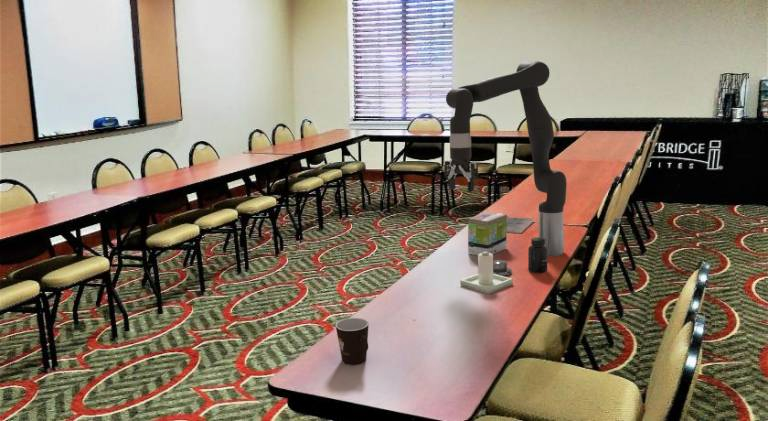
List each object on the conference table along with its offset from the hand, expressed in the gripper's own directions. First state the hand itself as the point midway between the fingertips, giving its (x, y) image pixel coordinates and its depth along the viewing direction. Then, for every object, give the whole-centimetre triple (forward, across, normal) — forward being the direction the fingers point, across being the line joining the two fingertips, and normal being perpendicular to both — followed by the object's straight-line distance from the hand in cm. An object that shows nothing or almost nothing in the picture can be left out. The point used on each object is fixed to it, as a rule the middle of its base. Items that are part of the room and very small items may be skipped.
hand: (461, 190), depth 234 cm
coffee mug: (+30, -30, +76) cm, 87 cm away
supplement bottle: (+30, -21, -17) cm, 41 cm away
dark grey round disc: (+30, -12, -6) cm, 33 cm away
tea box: (+30, +9, -25) cm, 40 cm away
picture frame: (+31, +27, -63) cm, 75 cm away
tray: (+30, -17, +7) cm, 35 cm away
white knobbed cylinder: (+29, -17, +7) cm, 35 cm away
